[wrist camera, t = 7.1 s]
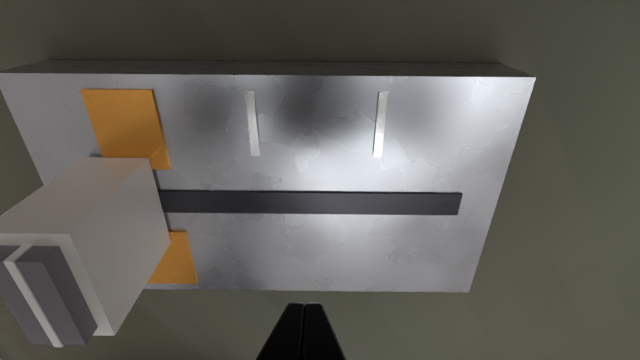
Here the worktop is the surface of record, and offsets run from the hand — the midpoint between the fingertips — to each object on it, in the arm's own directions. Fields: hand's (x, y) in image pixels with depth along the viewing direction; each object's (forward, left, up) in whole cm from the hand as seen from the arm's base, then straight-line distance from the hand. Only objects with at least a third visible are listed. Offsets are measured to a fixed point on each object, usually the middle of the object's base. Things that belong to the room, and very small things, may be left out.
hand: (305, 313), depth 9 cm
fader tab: (0, +7, -5) cm, 9 cm away
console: (0, +2, -8) cm, 8 cm away
